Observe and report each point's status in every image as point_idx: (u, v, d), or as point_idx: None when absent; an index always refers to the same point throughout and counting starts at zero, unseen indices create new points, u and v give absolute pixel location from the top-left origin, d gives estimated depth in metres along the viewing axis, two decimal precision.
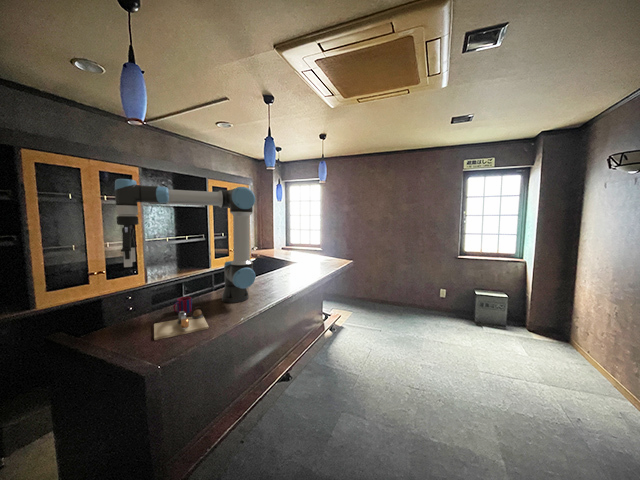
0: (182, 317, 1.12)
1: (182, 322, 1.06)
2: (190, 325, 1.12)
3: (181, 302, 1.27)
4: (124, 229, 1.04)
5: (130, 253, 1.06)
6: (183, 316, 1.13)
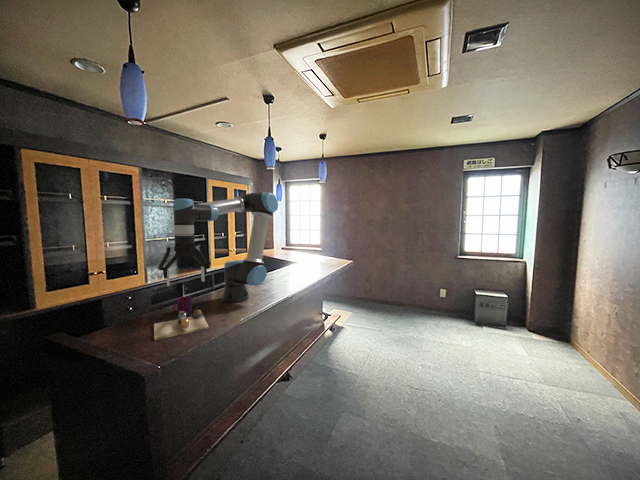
0: (182, 317, 1.12)
1: (182, 322, 1.06)
2: (190, 325, 1.12)
3: (181, 302, 1.27)
4: (166, 248, 1.06)
5: (167, 273, 1.06)
6: (183, 316, 1.13)
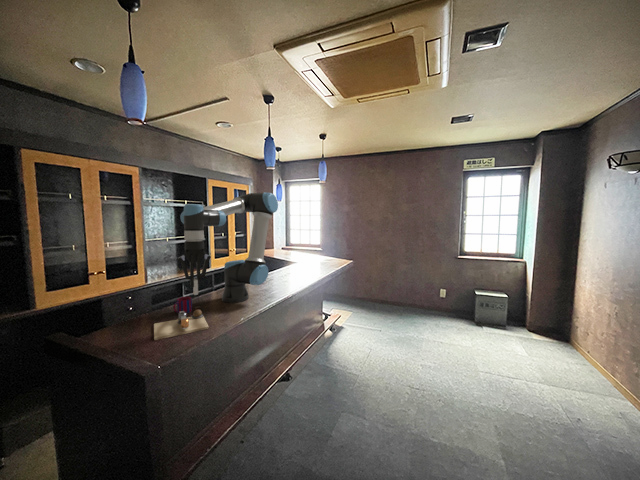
0: (182, 317, 1.12)
1: (182, 322, 1.06)
2: (190, 325, 1.12)
3: (181, 302, 1.27)
4: (178, 259, 1.07)
5: (193, 282, 1.09)
6: (183, 316, 1.13)
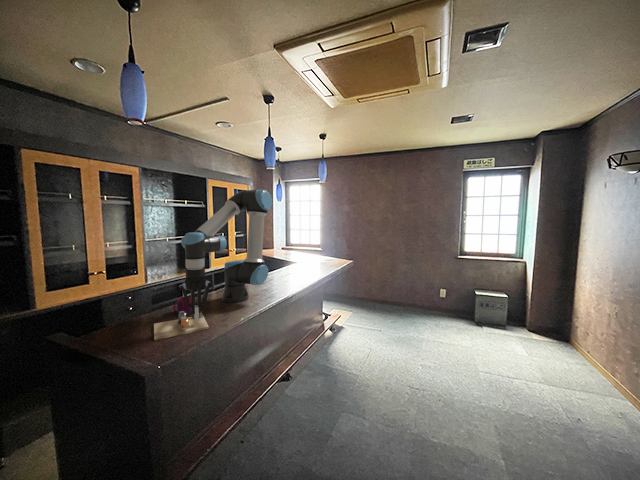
0: (182, 317, 1.12)
1: (182, 322, 1.06)
2: (190, 325, 1.12)
3: (181, 302, 1.27)
4: (179, 287, 1.08)
5: (194, 309, 1.11)
6: (183, 316, 1.13)
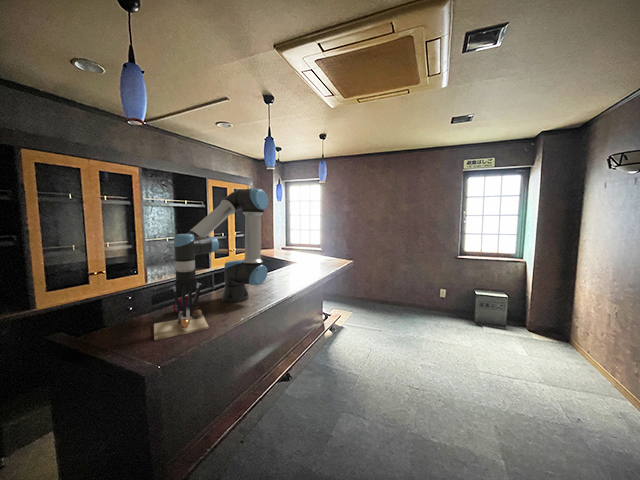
0: (182, 317, 1.12)
1: (182, 322, 1.06)
2: (190, 325, 1.12)
3: (181, 302, 1.27)
4: (170, 290, 1.06)
5: (186, 312, 1.09)
6: None
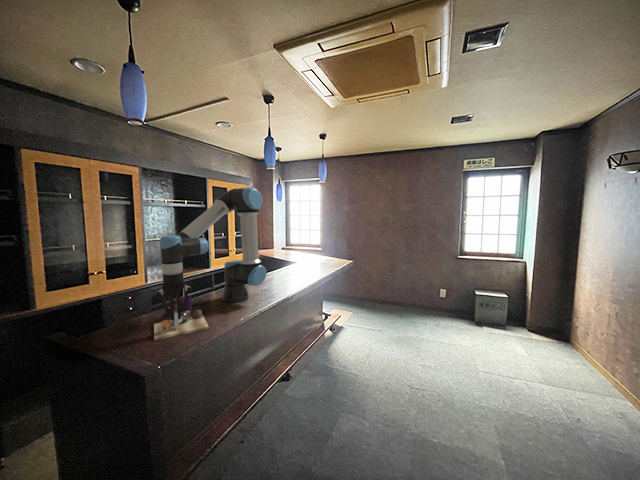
0: None
1: (162, 322, 1.05)
2: (190, 325, 1.12)
3: (181, 302, 1.27)
4: None
5: (174, 315, 1.06)
6: None
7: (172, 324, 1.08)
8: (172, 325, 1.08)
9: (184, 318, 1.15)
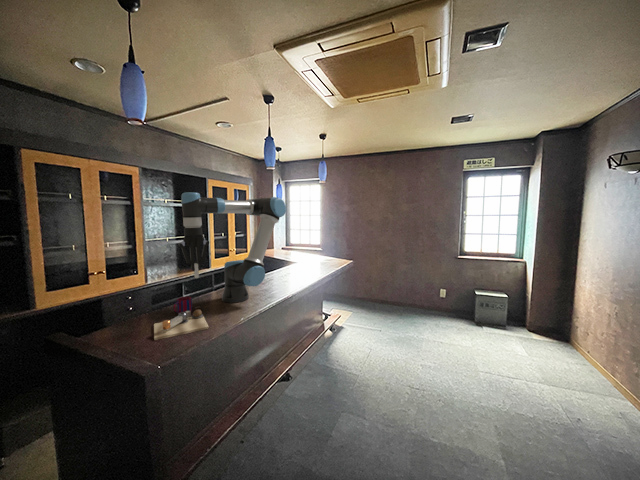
0: (175, 317, 1.12)
1: (162, 323, 1.05)
2: (190, 325, 1.12)
3: (181, 302, 1.27)
4: (179, 245, 1.14)
5: (194, 266, 1.17)
6: (177, 317, 1.12)
7: (172, 324, 1.08)
8: (172, 325, 1.08)
9: (184, 318, 1.15)
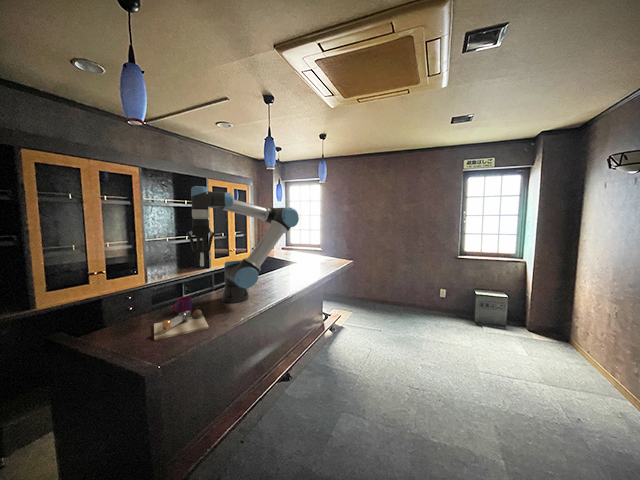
0: (175, 317, 1.12)
1: (162, 323, 1.05)
2: (190, 325, 1.12)
3: (181, 302, 1.27)
4: (187, 235, 1.22)
5: (200, 255, 1.25)
6: (177, 317, 1.12)
7: (172, 324, 1.08)
8: (172, 325, 1.08)
9: (184, 318, 1.15)
